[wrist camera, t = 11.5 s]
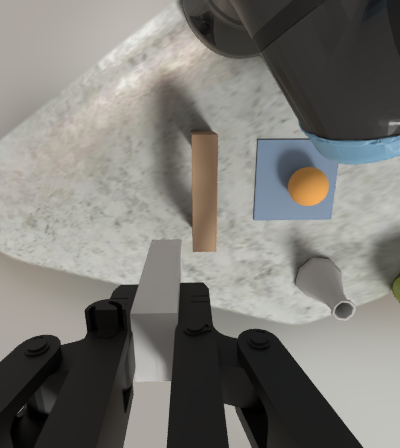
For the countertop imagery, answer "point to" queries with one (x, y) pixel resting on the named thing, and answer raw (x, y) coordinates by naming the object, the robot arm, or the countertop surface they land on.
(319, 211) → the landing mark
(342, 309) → the flask
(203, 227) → the bridge
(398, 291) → the plant pot
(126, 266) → the countertop surface
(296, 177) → the ball
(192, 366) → the robot arm
